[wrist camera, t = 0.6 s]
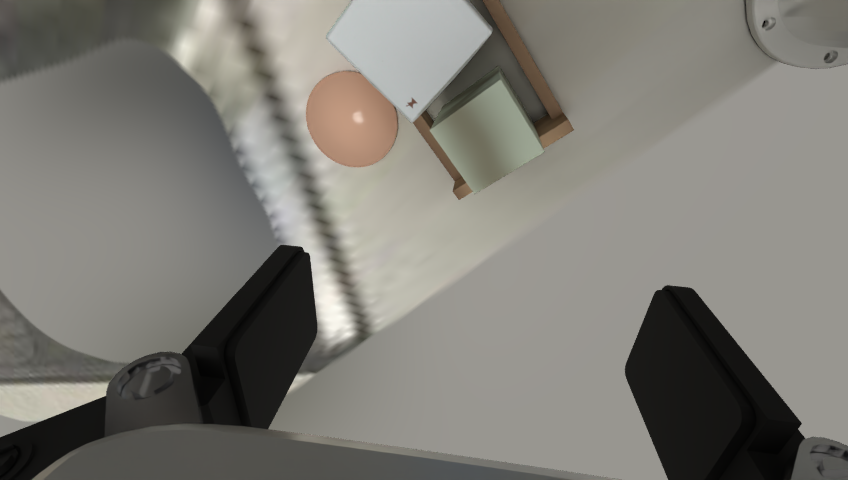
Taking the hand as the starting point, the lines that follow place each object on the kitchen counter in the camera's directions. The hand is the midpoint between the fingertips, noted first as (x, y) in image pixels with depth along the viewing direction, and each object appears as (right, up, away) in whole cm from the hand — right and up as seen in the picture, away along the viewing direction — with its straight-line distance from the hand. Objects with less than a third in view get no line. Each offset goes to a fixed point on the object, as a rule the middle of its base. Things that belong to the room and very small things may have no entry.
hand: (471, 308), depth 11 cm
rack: (+2, +17, +24) cm, 30 cm away
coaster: (-8, +14, +28) cm, 32 cm away
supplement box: (0, +20, +23) cm, 31 cm away
